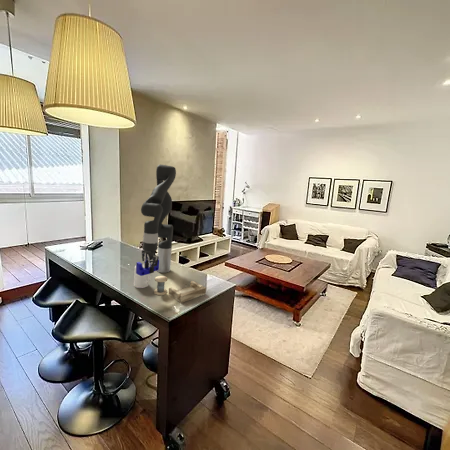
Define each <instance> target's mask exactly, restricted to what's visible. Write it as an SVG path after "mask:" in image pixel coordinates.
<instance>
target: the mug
mask: <svg viewBox="0 0 450 450" xmlns="http://www.w3.org/2000/svg"><path fill="white" fill-rule="evenodd" d="M142 266H143V268H144V267H145V263H142ZM133 275H134V278H133V287H134V288H137V289H144V288H147V287H148V286H149V283H150V281H151V274H147V275H143V276H140V275H138V274H136V265H135V266H134V274H133Z"/></svg>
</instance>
